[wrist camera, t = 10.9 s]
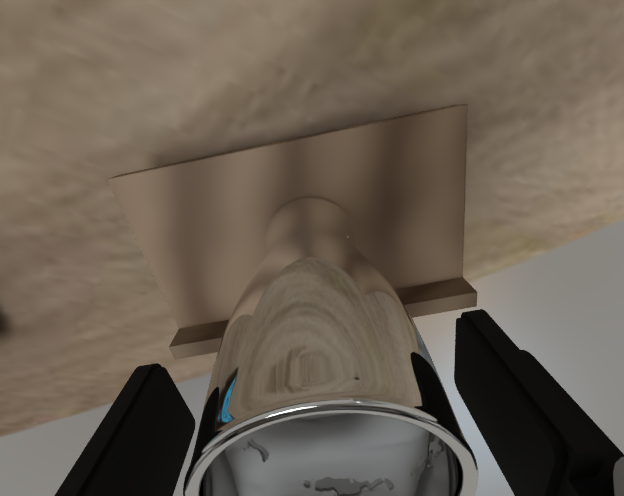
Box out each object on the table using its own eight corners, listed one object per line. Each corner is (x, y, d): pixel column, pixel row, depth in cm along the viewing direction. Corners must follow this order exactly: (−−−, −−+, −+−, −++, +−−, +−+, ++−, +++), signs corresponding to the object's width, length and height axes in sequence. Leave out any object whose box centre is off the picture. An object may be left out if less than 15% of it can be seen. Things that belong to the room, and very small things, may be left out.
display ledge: (432, 106, 22) (487, 103, 15) (434, 260, 27) (476, 306, 21) (145, 165, 23) (85, 186, 16) (203, 303, 28) (175, 359, 22)
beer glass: (318, 298, 22) (348, 593, 9) (239, 249, 20) (116, 528, 7) (382, 230, 20) (554, 479, 6) (300, 167, 18) (302, 332, 4)
